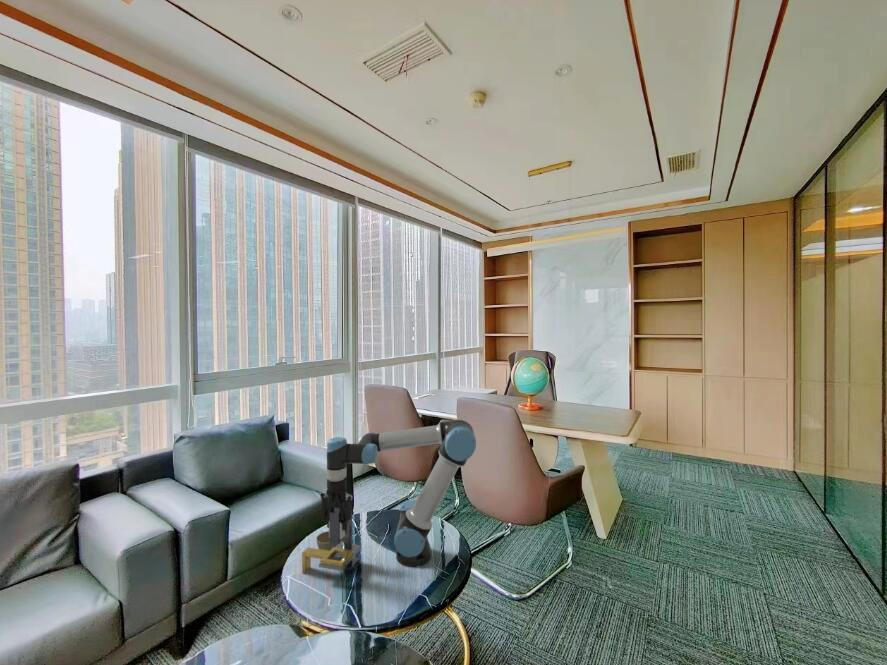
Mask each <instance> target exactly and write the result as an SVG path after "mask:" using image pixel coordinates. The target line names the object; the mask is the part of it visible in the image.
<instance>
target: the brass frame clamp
mask: <svg viewBox="0 0 887 665" xmlns="http://www.w3.org/2000/svg"><path fill="white" fill-rule="evenodd" d="M361 549H362V544H359V545H358V544H353V513H352V514H351V519H350V520H349V521H348V522H347V528H346V529H345V536H344V539H343V540H342V541H341V543H340V544H338V545H337V546H336V547H335V548H334V547H333V548H332V549H331V550H330V551H327V550H321V549H319V548H314V547H309V546H308V547H307V548H305V549H304V550H303V551H302V552H301V566H302V567H301V568H302V569H301V570H302V571H301V573H302V574H303V575H304V574H306V573H307V572H309V570H310V569H311V568H312V567H311V566H312V565H311V564H312V562H311V561H312V560H311V558H312V559H313V558H314V559H318V560H320V562H319V564H318V568H323V569H329V570H334V571H337V572H338V571H340V572H343V571H344V570H347V571H352V570H353V568H355V566H356V564H358V562H359V561H360V557H356V555H357V554H358V553H359V552H360V550H361ZM334 557H339V558H341V559H340V560H336V559H334Z"/></svg>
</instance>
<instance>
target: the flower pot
mask: <svg viewBox="0 0 887 665" xmlns="http://www.w3.org/2000/svg"><path fill="white" fill-rule="evenodd" d="M315 541H316V546H317V549H321V550H327V551H330V550H331V549H332V548H333V547H334V548H335V547H336V546H337V545H338V544H334V543H330V538H329V530H328V531H322V532H321V533H319V534H318V535H317V536H316V538H315Z"/></svg>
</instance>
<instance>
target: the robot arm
mask: <svg viewBox="0 0 887 665" xmlns="http://www.w3.org/2000/svg"><path fill="white" fill-rule="evenodd" d="M436 444H440V446H439V448H438V455H439V457H438V458H437V461H435V462H436V463H435V464H434V466H433V468H432V470H431V472H430V474H429V475H428V478H427V480H426V482H425V483H424V485H423V487H422V489H421V491H420V493H419V495H418V497H417V498H416V499H412V500H406V501H405V500H404V501H403V502H401V504H400V506H399V518H398V520H399V521H398V523H397V527H396V532H395V534H394V536H393V537H394V539H393V540H394V541H393V544H394V548H395V549H396V552H395V559H396V561H397V562H398V564H400V565H402V566H405V567H412V568H413V567H419V566H420V567H421V566H423V565H425V564H427V563H429V561H430V560H431V558H432V547H431V545H430V541H429V539H428V538H429V537H428V536H429V533H430V531H431V529H432V528H433V522H432V519H433V517H434V515H435V514H436V512H437V509H438V507H439V506H440V504H441V503H442V501H443V498H444V496H445V494H446V493H447V490H448V489H449V486H450V485H451V483H452V481H453V479H454V477H455V475H456V474H457V471H458V470H459V468H462V467H464V466H465V465H466V463H467V460H468V459H470V458H471V457H472V456H473V454H474V453H475V450H476V448H477V440H476V435H475V432H474V429H473V427H472V425H471V424H470V423H469V422H467V421H466V420H462V419H454V420H448V421H447V420H446V421H440V422H438V424H436V425H430V426H429V425H428V426H423V427H415V428H408V429H401V430H394V431H387V432H380V433H375V432H371V431H370V432H367V433H365V434H364V435H363V436H362V437H361V438H360V440H359V441H358V443H348V441H347V439H346V438H345V437H341V436H340V437H339V436H337V437H332V438H330V439H328V441H327V442H326V490H324V491H322V493H320V494H319V495H320V498H321V510H322V511H321V513H322V514H321V516H322V517H321V518H322V519H325V520H326V527H327V529H328V531H329V538H330V512H331V511H332V510H333V509H334V508H335V504H336V503H337V506H338V508H339V511H340V516H341V522H340V539H342V538H343V537H344V536H345V529H346V528H347V522H348V521H349V520H350V519H351V514H352V515H353V508H352V507H353V506H352V504H353V499H354V494H349V493H348V491H347V486H348V485H347V484H348V483H347V481H348V480H347V470H348V469H347V467H348V466H347V465H348V464H349V465H350V464H353V465H356V464H360V465H361V464H363V465H369V464H370V465H371V464H375V463H376V462H377V459H378V453H379V452H386V451H393V450H400V449H401V450H402V449H408V448H415V447H422V446H423V447H424V446H430V445H436Z"/></svg>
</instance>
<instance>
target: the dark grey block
mask: <svg viewBox="0 0 887 665" xmlns="http://www.w3.org/2000/svg"><path fill="white" fill-rule="evenodd" d="M340 522H341V516H340V511H339V507H334V509H333V510H332V511H331V512H330V543H334V544H340V543H342V540H343V539H344V537H343V538H342V539H340Z"/></svg>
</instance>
